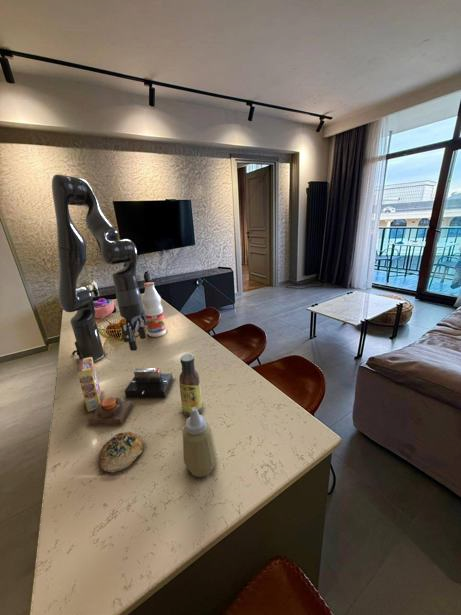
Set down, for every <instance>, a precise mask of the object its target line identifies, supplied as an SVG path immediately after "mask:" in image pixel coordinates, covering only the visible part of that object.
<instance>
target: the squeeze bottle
mask: <svg viewBox="0 0 461 615" xmlns="http://www.w3.org/2000/svg"><path fill="white" fill-rule="evenodd" d="M182 447H183V448H182V449H183V450H182V452H183V464H184V465H185V467H186V468H187V469H188V471H189V472H190V473H191V475H192V476H194V477H195V478H196V477H197V478H203V477H206V476H208V475H209V474H210V473H211V472H212V470H213V469H214V465H215V462H216V460H217V449H216V445H215V441H214V437H213V432H212V428H211V425H210V423H209V422H207V420H206V418H205V416H204V415H202V414H200V413H198V410H197V408H196V407H193V408H192V409H191V416H188V418H187V419H186V421H185V427H183V431H182Z"/></svg>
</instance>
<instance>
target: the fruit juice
mask: <svg viewBox="0 0 461 615" xmlns="http://www.w3.org/2000/svg"><path fill="white" fill-rule="evenodd" d="M143 286H144V293H143V297H142V305H143V310H144V312H145V317H146V321H147V325H146V328H147V334H148V336H149V337H152V338H157V337H162V336H164V335H165V334H166V333H167V328H166V320H165V314H164V308H163V306H162V297H161V295H160V294H159V293H158V291H157V290H156V288H155V282H154V281H148V282H145V283H143Z"/></svg>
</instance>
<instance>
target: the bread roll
mask: <svg viewBox="0 0 461 615" xmlns="http://www.w3.org/2000/svg"><path fill="white" fill-rule="evenodd" d="M143 450H144V444H143V441H142V439H141V438H140V437H139V435H137V434H136V433H133V432H131V431H125V432H123V431H122V432H121V431H120V432H119V433H117V434H115V435H113V436H112V437H111V438H110V439H109V440H107V441H106V442H105V444H103V446H102V448H101V449H100V452H99V457H98V464H99V467H100V468H101V469H102V471H104V472H105V473H111V474H114V473H115V472H119V471H121V470H124V469H127V468H128V467H130V466H131V465H132V464H133V462H134V461H135V460H136V459H137V457H138V456H139V455H141V454H142V452H143Z"/></svg>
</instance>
